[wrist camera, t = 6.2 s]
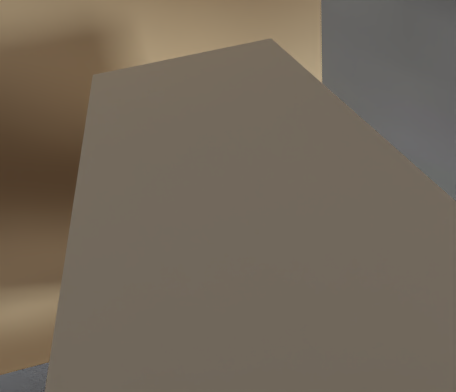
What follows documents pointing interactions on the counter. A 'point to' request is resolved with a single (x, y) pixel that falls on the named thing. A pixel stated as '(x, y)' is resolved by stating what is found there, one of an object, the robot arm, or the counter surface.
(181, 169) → the cream box
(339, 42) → the counter surface
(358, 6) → the counter surface
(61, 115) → the mat
